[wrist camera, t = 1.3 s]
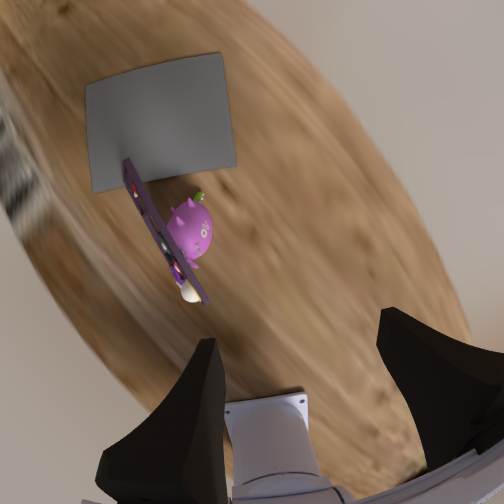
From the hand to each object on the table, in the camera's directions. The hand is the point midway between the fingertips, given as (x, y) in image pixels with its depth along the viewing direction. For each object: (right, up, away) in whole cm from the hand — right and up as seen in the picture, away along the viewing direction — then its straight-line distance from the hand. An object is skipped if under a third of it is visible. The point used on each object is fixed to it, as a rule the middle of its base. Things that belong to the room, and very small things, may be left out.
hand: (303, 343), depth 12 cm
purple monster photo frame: (-7, +6, +9) cm, 13 cm away
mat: (-9, +13, +7) cm, 18 cm away
